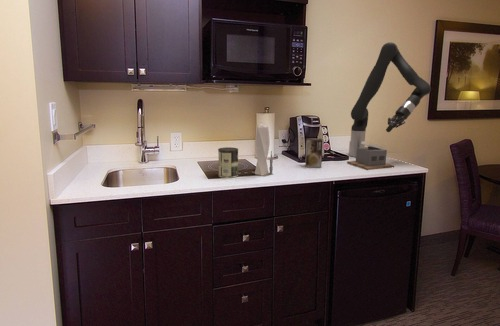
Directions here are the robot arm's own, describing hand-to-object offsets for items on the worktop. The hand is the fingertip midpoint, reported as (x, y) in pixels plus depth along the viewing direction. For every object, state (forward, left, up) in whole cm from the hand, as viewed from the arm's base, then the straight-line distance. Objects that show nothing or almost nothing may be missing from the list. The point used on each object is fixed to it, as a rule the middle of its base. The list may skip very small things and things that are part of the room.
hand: (387, 131), depth 218 cm
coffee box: (-9, -44, -20) cm, 50 cm away
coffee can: (-4, -98, -20) cm, 101 cm away
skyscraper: (-1, -80, -21) cm, 83 cm away
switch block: (0, -10, -19) cm, 22 cm away
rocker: (0, -10, -8) cm, 13 cm away
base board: (0, -10, -20) cm, 23 cm away
